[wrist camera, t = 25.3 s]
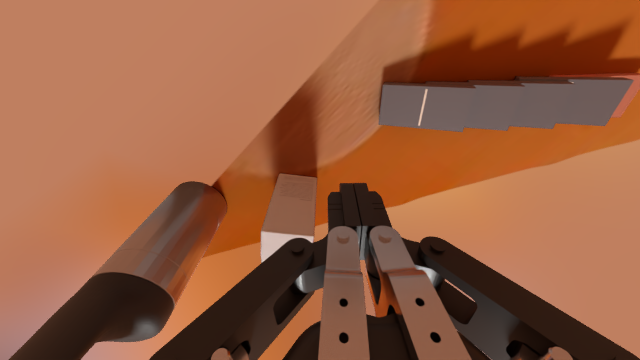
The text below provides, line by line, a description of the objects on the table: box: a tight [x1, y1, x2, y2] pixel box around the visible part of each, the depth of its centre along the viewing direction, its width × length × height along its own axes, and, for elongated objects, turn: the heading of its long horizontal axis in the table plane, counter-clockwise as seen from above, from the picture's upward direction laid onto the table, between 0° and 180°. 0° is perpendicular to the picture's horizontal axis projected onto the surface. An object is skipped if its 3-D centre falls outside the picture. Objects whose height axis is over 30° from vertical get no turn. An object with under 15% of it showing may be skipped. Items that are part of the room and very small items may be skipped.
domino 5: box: [549, 73, 640, 117], centre depth 29 cm, size 2×5×10 cm
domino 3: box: [467, 80, 575, 129], centre depth 29 cm, size 2×5×10 cm
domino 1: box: [379, 82, 476, 132], centre depth 29 cm, size 2×5×10 cm
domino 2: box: [425, 81, 525, 131], centre depth 29 cm, size 2×5×10 cm
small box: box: [261, 173, 317, 263], centre depth 34 cm, size 8×6×13 cm
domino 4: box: [514, 77, 634, 126], centre depth 28 cm, size 2×5×10 cm
